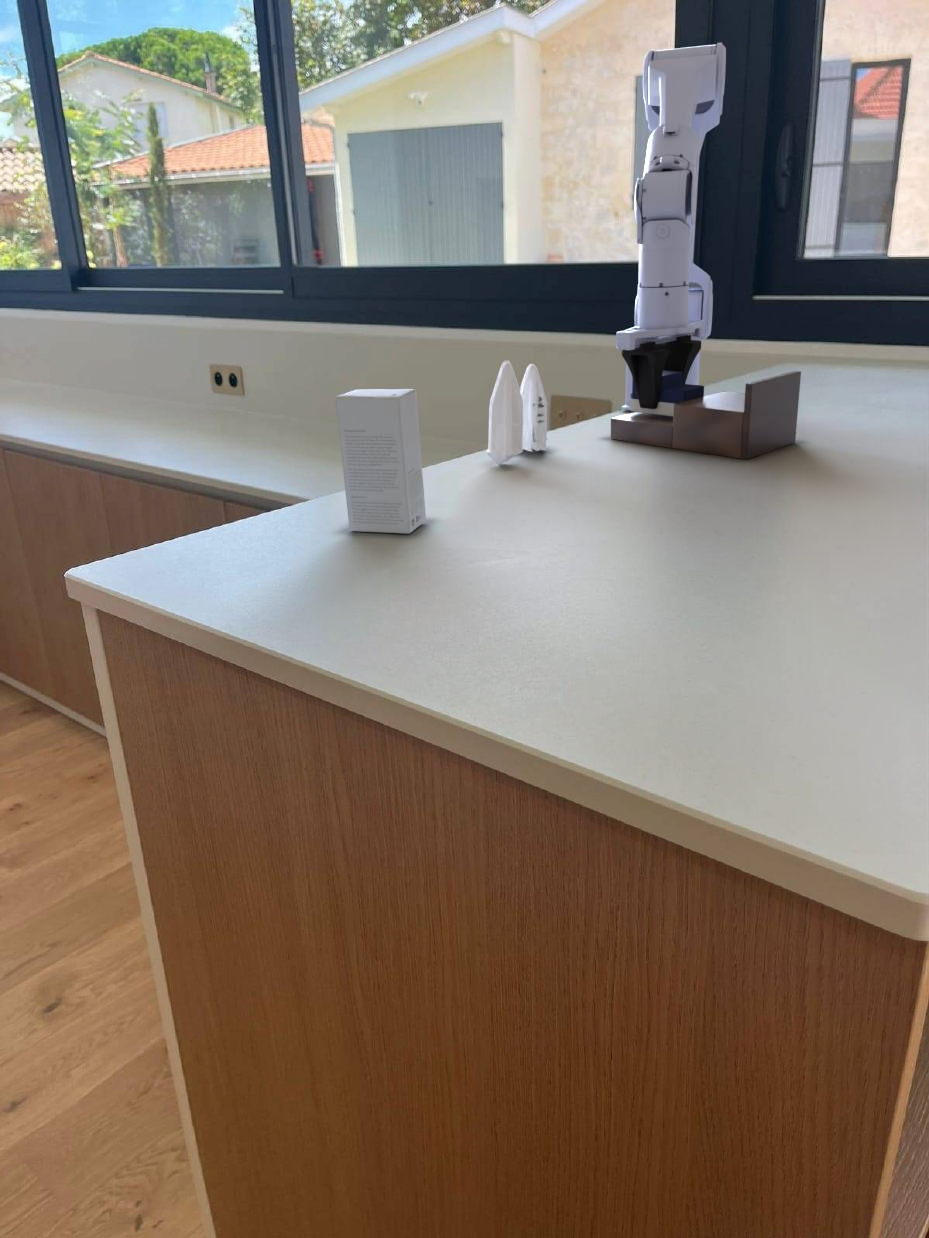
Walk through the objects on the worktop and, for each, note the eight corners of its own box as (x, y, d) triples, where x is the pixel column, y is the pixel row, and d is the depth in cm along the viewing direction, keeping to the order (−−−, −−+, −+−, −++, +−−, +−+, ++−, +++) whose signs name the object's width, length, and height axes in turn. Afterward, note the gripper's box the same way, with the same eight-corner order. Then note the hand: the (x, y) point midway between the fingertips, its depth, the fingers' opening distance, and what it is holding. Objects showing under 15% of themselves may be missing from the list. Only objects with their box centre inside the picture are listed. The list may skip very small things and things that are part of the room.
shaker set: (512, 472, 102) (509, 367, 98) (477, 469, 104) (473, 366, 99) (555, 448, 112) (554, 351, 107) (522, 446, 113) (520, 351, 109)
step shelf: (610, 438, 115) (611, 371, 112) (660, 425, 121) (662, 360, 118) (747, 459, 102) (752, 384, 99) (795, 443, 108) (801, 371, 105)
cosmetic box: (427, 521, 86) (418, 388, 82) (409, 535, 83) (399, 396, 78) (367, 518, 88) (354, 388, 84) (347, 531, 85) (333, 396, 80)
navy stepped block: (629, 411, 115) (630, 373, 113) (650, 406, 118) (650, 369, 116) (684, 417, 110) (686, 378, 108) (704, 412, 112) (706, 373, 110)
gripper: (653, 291, 102) (649, 418, 107) (729, 281, 110) (722, 399, 116) (602, 290, 107) (601, 412, 112) (678, 281, 115) (674, 394, 121)
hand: (659, 405), depth 114 cm, fingers closed on navy stepped block, 4 cm apart
